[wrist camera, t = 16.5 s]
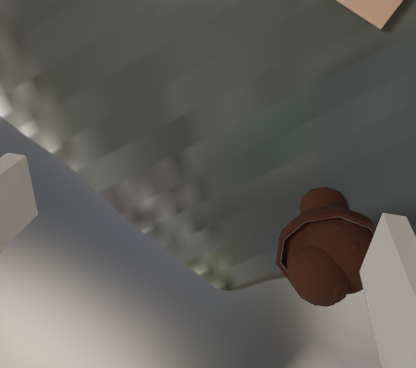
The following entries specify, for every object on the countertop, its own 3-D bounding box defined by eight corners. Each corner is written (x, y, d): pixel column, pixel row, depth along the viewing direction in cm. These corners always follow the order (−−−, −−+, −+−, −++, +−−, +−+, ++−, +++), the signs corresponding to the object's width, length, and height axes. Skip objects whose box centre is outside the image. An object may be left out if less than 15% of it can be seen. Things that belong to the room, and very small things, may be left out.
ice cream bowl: (305, 252, 50) (312, 351, 37) (261, 190, 46) (252, 276, 33) (384, 222, 45) (422, 322, 32) (342, 151, 42) (367, 232, 29)
